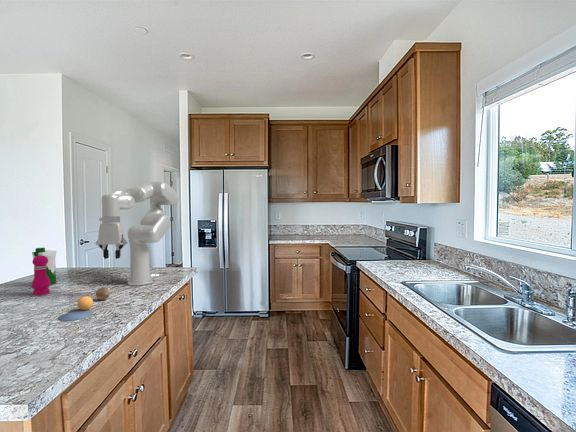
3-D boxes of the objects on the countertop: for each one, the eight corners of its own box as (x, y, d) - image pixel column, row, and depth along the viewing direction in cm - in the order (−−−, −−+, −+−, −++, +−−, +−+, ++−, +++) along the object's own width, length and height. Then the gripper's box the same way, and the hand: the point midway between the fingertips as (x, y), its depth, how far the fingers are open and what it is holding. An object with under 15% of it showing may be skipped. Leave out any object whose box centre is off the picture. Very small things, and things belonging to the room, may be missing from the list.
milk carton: (30, 286, 170) (29, 248, 170) (48, 282, 179) (47, 246, 178) (42, 287, 168) (41, 249, 167) (59, 283, 176) (58, 246, 175)
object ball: (91, 306, 136) (91, 293, 136) (94, 309, 132) (94, 296, 132) (76, 309, 132) (75, 296, 132) (79, 313, 128) (78, 299, 128)
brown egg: (107, 297, 150) (107, 285, 149) (111, 299, 146) (111, 287, 146) (94, 299, 146) (94, 287, 146) (97, 302, 142) (97, 289, 142)
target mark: (88, 309, 133) (88, 308, 133) (95, 315, 125) (95, 315, 125) (55, 315, 125) (55, 315, 125) (60, 323, 117) (60, 322, 117)
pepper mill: (40, 296, 152) (39, 253, 151) (27, 295, 153) (26, 253, 153) (54, 291, 159) (53, 251, 158) (42, 291, 160) (41, 251, 160)
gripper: (88, 220, 150) (89, 260, 150) (125, 220, 151) (126, 259, 151) (96, 220, 157) (97, 257, 158) (132, 219, 158) (133, 256, 159)
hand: (112, 257), depth 155 cm, fingers open, 4 cm apart
